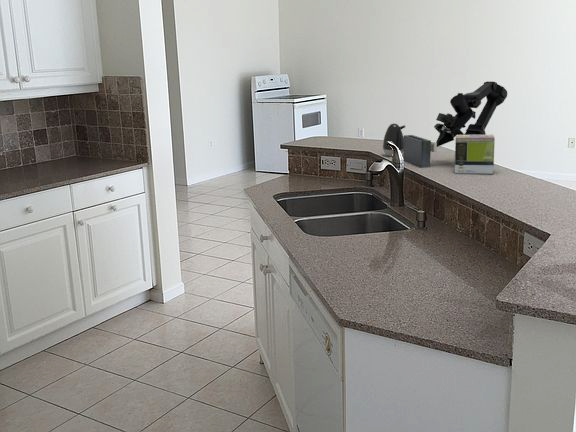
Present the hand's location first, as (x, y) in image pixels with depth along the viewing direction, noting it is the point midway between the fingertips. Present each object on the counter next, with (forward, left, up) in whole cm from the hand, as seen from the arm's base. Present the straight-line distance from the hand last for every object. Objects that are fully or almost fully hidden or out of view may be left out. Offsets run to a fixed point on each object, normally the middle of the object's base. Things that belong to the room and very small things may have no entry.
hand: (435, 146), depth 272 cm
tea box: (-20, -2, -8) cm, 22 cm away
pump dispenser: (+31, -4, -8) cm, 32 cm away
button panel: (+9, +3, -8) cm, 12 cm away
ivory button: (+1, +2, -2) cm, 3 cm away
